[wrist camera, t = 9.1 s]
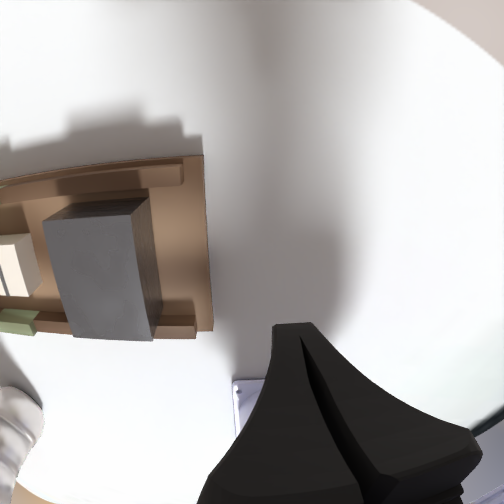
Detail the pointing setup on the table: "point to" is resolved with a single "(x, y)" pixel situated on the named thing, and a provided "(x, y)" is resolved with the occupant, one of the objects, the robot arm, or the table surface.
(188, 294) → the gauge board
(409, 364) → the table surface
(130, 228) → the grey rectangular block
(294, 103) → the table surface
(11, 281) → the cream square block
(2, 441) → the plastic bottle
